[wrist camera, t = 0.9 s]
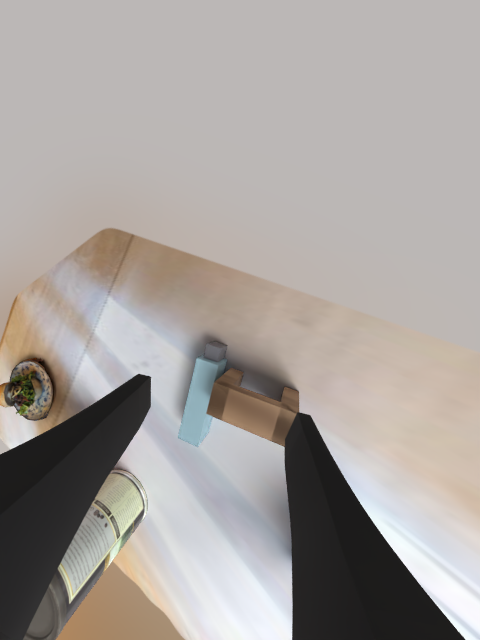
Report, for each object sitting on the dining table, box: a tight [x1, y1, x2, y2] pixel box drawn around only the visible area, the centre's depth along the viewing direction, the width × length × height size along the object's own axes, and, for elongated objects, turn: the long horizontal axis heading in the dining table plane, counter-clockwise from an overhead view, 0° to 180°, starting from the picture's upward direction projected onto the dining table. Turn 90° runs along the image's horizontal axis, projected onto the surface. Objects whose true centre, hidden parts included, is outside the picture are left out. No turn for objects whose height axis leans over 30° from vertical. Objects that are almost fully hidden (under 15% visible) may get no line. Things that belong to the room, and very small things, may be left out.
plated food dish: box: [0, 358, 53, 421], centre depth 39 cm, size 12×12×8 cm
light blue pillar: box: [178, 341, 227, 447], centre depth 31 cm, size 14×3×4 cm, turn 165°
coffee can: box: [23, 470, 147, 640], centre depth 31 cm, size 10×10×14 cm
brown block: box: [206, 368, 299, 447], centre depth 27 cm, size 4×10×7 cm, turn 75°
